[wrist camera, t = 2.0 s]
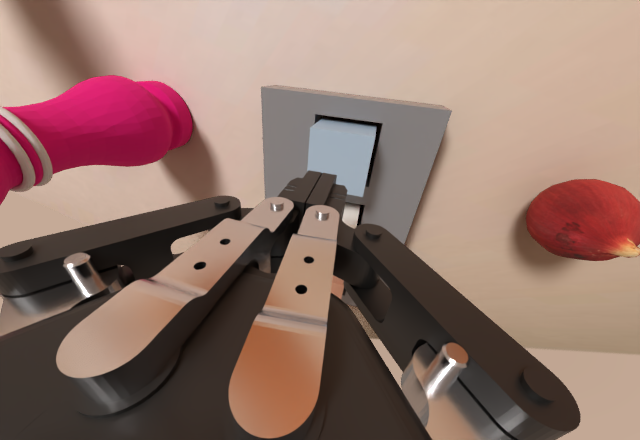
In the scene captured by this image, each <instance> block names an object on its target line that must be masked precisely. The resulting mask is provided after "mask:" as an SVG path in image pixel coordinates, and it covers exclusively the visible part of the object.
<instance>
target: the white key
mask: <svg viewBox="0 0 640 440" xmlns="http://www.w3.org/2000/svg"><path fill="white" fill-rule="evenodd" d="M359 209H360V204H355V203H350V202H345V208H344V214H343V218H342V221H343V222H344V223H345V224H346V225H348V226H350V227H352V228H354V229H355V228H356V227H357V221H358V215H359Z"/></svg>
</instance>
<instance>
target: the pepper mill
mask: <svg viewBox="0 0 640 440" xmlns="http://www.w3.org/2000/svg"><path fill="white" fill-rule="evenodd" d="M191 134H192V119H191V115H190V112H189V110H188V108H187V105H186V104H185V102H184V101H183V99H182V98H181V97H180V96H179V95H178V94H177V92H176V91H175V90H173V89H172V88H171V87H169V86H167V85H166V84H164V83H161V82H158V81H140V82H134V81H132V80H130V79H128V78H125V77H121V76H115V75H108V76H100V77H93V78H90V79H87V80H85V81H82V82H80V83H78V84H76V85H75V86H73V87H72V88H71V89H69V90H68V91H66V92H65V93H63V94H61V95H60V96H58V97H56V98H53V99H51V100H48V101H45V102H42V103H37V104H31V105H26V106H20V107H1V106H0V205H1V203H2V202H3V200H4V199H5V197H6V195H7V193H8V191H9V190H11V191H15V192H23V191H27V190H29V189H31V188H32V187H33V186H42V185H45V184H47V183H48V182H49V181H50V180H51V178H52V174H54V173H57V172H60V171H62V170H66V169H70V168H75V167H79V166H88V165H111V166H126V167H129V166H141V165H146V164H149V163H153V162H156V161H158V160H159V159H161V158H163V157H164V155H165V154H166V153H167V151H168V150H172V149H175V148H178V147H180V146H183V145H185V144H186V143H187V142H188V141H189V139H190V137H191Z"/></svg>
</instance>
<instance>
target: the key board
mask: <svg viewBox="0 0 640 440" xmlns="http://www.w3.org/2000/svg"><path fill="white" fill-rule="evenodd" d="M261 98H262V126H263V153H264V181H265V199H267V198H271V197H277V196H278V195H279V194H280V193H281V191H282V190H283V189H284V188H285V187H286V186H287V184H288V183H289V182H290V180H293V179H295V178H297V177H298V178H303V177H304V176H305V174H306V173H307V167H308V152H309V137H310V127H312V126H313V125H314V124H316V123H317V122H318V121H319V120H321V119H322V117H323V115H326V116H333V117H340V118H348V119H355V120H362V121H369V122H377V123H381V128H380V133H379V137H378V142H377V146H376V151H375V156H374V160H373V165H372V170H371V174H370V175H369V174H368V175H367V179H366V184H365V189H364V194H363V197H359V196H354V195H348V194H347V196H346V202H350V203H355V204H361V205H364V206H363V211H362V216H361V220H360V225H361V224H375V225H379V226H381V227H383V228H385V229H386V230H388V231H389V232H390V233H391V234H392V235H393V236H395V237H396V238H397V239H398V240H399V241H400V242H401V243H403V244H405V241H406V238H407V235H408V233H409V230H410V227H411V224H412V221H413V219H414V216H415V213H416V210H417V207H418V205H419V202H420V199H421V196H422V193H423V191H424V188H425V185H426V182H427V179H428V177H429V174H430V171H431V168H432V165H433V163H434V160H435V157H436V154H437V151H438V149H439V146H440V143H441V140H442V137H443V135H444V132H445V129H446V126H447V123H448V121H449V118H450V115H451V112H452V110H450V109H448V108H446V107H444V106H441V105H433V104H425V103H417V102H408V101H400V100H392V99H384V98H376V97H368V96H360V95H351V94H343V93H335V92H327V91H319V90H311V89H302V88H294V87H286V86H278V85H273V86H264V87H261ZM380 279H381V278H380ZM381 280H382V279H381ZM382 282H383V283H384V284H385V285H386V286H387V284H386V283H385V282H384V281H383V280H382ZM387 287H388V286H387ZM388 288H389V287H388ZM341 300H342V301H343V302H344V303H345V304H348V305H352V306H356V304H355V303H354V301H353V300H352V298H351V297H350V296H349V294H348V293H347V291H346V290H345V288H344V289H343V294H342V298H341ZM356 307H357V306H356Z"/></svg>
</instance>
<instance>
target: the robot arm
mask: <svg viewBox="0 0 640 440" xmlns="http://www.w3.org/2000/svg"><path fill="white" fill-rule="evenodd" d="M336 179H337V175H334V174H328V173H322V172H316V171H310V170H308V171H307V173H306V174H305V176H304V177H303V178H298V177H297V178H295V179H293V180H290V182H289V183H288V184H287V186H286V187H285V188H284V189H283V190H282V191H281V193H280V194H279V195H278V196H277V197H271V198H267V199H264V200H263V201H262V202H260V203H259V204H258V205H257V206H256V207H255V208H241V204H240V201H239V199H237V198H235V197H232V196H217V197H213V198H208V199H204V200H200V201H195V202H191V203H187V204H182V205H178V206H173V207H169V208H165V209H160V210H156V211H152V212H147V213H143V214H139V215H134V216H130V217H126V218H121V219H117V220H112V221H108V222H104V223H99V224H95V225H91V226H86V227H82V228H78V229H74V230H69V231H65V232H60V233H56V234H52V235H47V236H43V237H39V238H34V239H30V240H25V241H21V242H17V243H14V244H11V245H8V246H5V247H3V248H0V296H1V297H2V298H3V300H4V301H3V305H2V309H1V313H0V440H556V439H558V438H560V437H561V436H563V435H565V434H567V433H569V432H571V431H573V430H574V429H576V428H577V427H578V426H579V423H580V411H579V408H578V405H577V403H576V401H575V399H574V397H573V396H572V394H571V393H570V391H569V390H568V389H567V387H566V386H565V385H564V384H563V383H562V382H561V381H560V379H559V378H557V377H556V376H555V375H554V374H553V373H552V372H551V371H550V370H549V369H547V368H546V367H545V366H544V365H543V364H542V363H541V362H539V361H538V360H537V359H536V358H535V357H534V356H532V355H531V354H530V353H529V352H528V351H527V350H525V349H524V348H523V347H522V346H521V345H520V344H519V343H517V342H516V341H515V340H514V339H513V338H512V337H510V336H509V335H508V334H507V333H506V332H505V331H503V330H502V329H501V328H500V327H499V326H498V325H497V324H495V323H494V322H493V321H492V320H491V319H490V318H488V317H487V316H486V315H485V314H484V313H483V312H481V311H480V310H479V309H478V308H477V307H476V306H474V305H473V304H472V303H471V302H470V301H469V300H468V299H466V298H465V297H464V296H463V295H462V294H461V293H459V292H458V291H457V290H456V289H455V288H454V287H452V286H451V285H450V284H449V283H448V282H447V281H446V280H444V279H443V278H442V277H441V276H440V275H439V274H437V273H436V272H435V271H434V270H433V269H432V268H430V267H429V266H428V265H427V264H426V263H425V262H424V261H422V260H421V259H420V258H419V257H418V256H417V255H415V254H414V253H413V252H412V251H411V250H410V249H408V248H407V247H406V246H405V245H404V244H403V243H401V242H400V241H399V240H398V239H397V238H396V237H395V236H393V235H392V234H391V233H390V232H389V231H388V230H386V229H385V228H383V227H381V226H379V225H375V224H361V225H358V226H357V227H356V228H355V229H354V228H352V227H350V226H348V225H346V224H345V223H344V222H343V221H342V218H343V214H344V208H345V202H346V196H347V191H348V190H347V189H346V187H345V186H344V185H338V184H336ZM205 230H208V231H209V232H208V233H207V234H206V235H204V236H203V237H202V238H201V239H200V240H198V241H197V242H196V243H195V244H194V245H192V246H191V247H190V248H189V249H187V250H186V251H185V252H183V253H180V254H172V252H171V245H172V243H173V242H174V241H175V240H177V239H179V238H182V237H185V236H188V235H192V234H195V233H198V232H202V231H205ZM121 265H124V266H122V267H121ZM333 275H334V276H336V277H338V278H340V279H342V280H344V282H343V285H344V288H345V290H346V291H347V293H348V294H349V296H350V297H351V298H352V300H353V301H354V303H355V304H356V306H357V307H358V308H359V310H360V311H361V313H362V314H363V316H364V317H365V318H366V320H367V321H368V323H369V324H370V326H371V327H372V328H373V330H374V331H375V333H376V334H377V336H378V337H379V338H380V340H381V341H382V343H383V344H384V346H385V347H386V348H387V350H388V351H389V353H390V354H391V356H392V357H393V359H394V360H395V361H396V363H397V364H398V366H399V367H400V369H401V370H402V371H403V374H402V378H401V387H402V390H401V388H400V387H399V385H398V384H397V382H396V380H395V379H394V377H393V375H392V374H391V372H390V371H389V369H388V367H387V366H386V364H385V363H384V361H383V360H382V358H381V356H380V355H379V353H378V351H377V350H376V348H375V347H374V345H373V343H372V342H371V340H370V338H369V337H368V335H367V334H366V332H365V330H364V329H363V327H362V326H361V324H360V322H359V321H358V319H357V318H356V316H355V315H354V313H353V312H352V310H351V309H350V308H349V307H348V306H347V305H346V304H345V303H344V302H343V301H342V300H341V299H340V298H338V297H337V296H336V295H334V294H333V293H331V285H332V277H333ZM380 278H381V279H382V280H383V281H384V282H385V283H386V284H387V286H388V287H389V288H388V287H387V286H386V285H385V284H384V283H383V282H382V280H381V279H380ZM402 391H403V392H402Z"/></svg>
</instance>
